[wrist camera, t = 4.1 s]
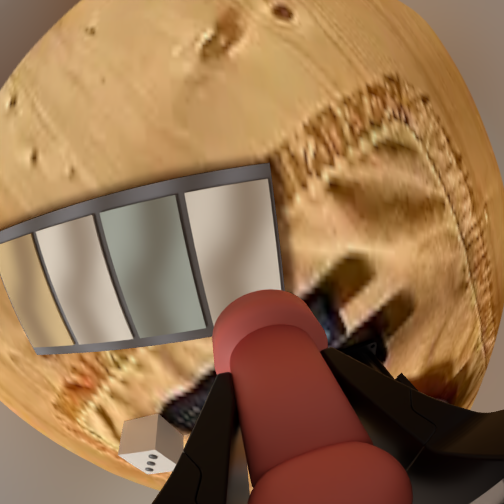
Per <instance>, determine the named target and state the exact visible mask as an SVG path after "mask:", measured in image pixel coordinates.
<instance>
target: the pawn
mask: <svg viewBox="0 0 504 504" xmlns="http://www.w3.org/2000/svg"><path fill="white" fill-rule="evenodd" d="M212 341H213V353H214V364H215V370H216V373H217V375H218V374H219V373H224V372H230V373H231V375H232V381H233V387H234V393H235V399H236V405H237V413H238V418H239V424H240V429H241V434H242V440H243V445H244V450H245V455H246V460H247V465H248V470H249V474H250V479H251V484H252V487H253V490H252V492H251V494H250V497H249V499H248V503H247V504H412V503H413V491H412V485H411V482H410V478H409V476H408V474H407V472H406V470H405V469H404V468H403V466H402V465H401V464H400V462H399V461H397V460H396V459H395V458H394V457H393V456H392V455H391V454H389V453H388V452H386V451H384V450H382V449H380V448H378V447H376V446H374V445H373V442H372V440H371V438H370V437H369V435H368V433H367V432H366V430H365V428H364V426H363V425H362V423H361V421H360V420H359V418H358V416H357V414H356V413H355V411H354V409H353V408H352V406H351V404H350V402H349V401H348V399H347V397H346V396H345V394H344V392H343V391H342V389H341V387H340V385H339V384H338V382H337V380H336V379H335V377H334V375H333V374H332V372H331V370H330V368H329V367H328V365H327V363H326V362H325V360H324V358H323V357H322V355H321V353H320V351H321V350H323V349H326V348H328V342H327V336H326V334H325V331H324V329H323V328H322V326H321V325H320V324H319V322H318V321H317V319H316V318H315V316H314V315H313V313H312V312H311V310H310V309H309V308H308V306H307V305H306V303H305V302H304V301H303V300H301V299H300V298H299V297H297V296H296V295H294V294H292V293H289V292H286V291H282V290H274V289H267V290H259V291H255V292H251V293H248V294H246V295H243V296H241V297H239V298H237V299H236V300H234V301H233V302H231V303H230V304H229V305H228V306H227V307H226V308H225V309H224V310H223V311H222V312H221V314H220V315H219V317H218V318H217V320H216V322H215V325H214V328H213V334H212Z"/></svg>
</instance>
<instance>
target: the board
mask: <svg viewBox="0 0 504 504" xmlns="http://www.w3.org/2000/svg"><path fill="white" fill-rule="evenodd" d="M0 276H1V279H2V281H3V284H4V286H5V289H6V292H7V294H8V297H9V299H10V301H11V304H12V306H13V308H14V310H15V313H16V315H17V317H18V319H19V321H20V323H21V325H22V327H23V329H24V331H25V333H26V335H27V337H28V339H29V341H30V343H31V345H32V347H33V348H34V350H35V352H36V354H37V355H44V354H68V353H84V352H97V351H108V350H118V349H128V348H137V347H145V346H153V345H160V344H167V343H174V342H181V341H187V340H194V339H200V338H205V337H211V336H212V334H213V328H214V325H215V322H216V320H217V318H218V317H219V315H220V314H221V312H222V311H223V310H224V309H225V308H226V307H227V306H228V305H229V304H230V303H231V302H233V301H234V300H236V299H237V298H239V297H241V296H243V295H246V294H248V293H251V292H255V291H259V290H267V289H274V290H282V291H285V289H284V279H283V270H282V260H281V251H280V242H279V234H278V225H277V217H276V209H275V201H274V193H273V185H272V177H271V170H270V163H263V164H256V165H249V166H242V167H235V168H229V169H223V170H217V171H211V172H206V173H200V174H195V175H190V176H185V177H180V178H175V179H170V180H166V181H161V182H157V183H152V184H148V185H144V186H140V187H136V188H132V189H128V190H124V191H120V192H116V193H112V194H109V195H105V196H101V197H98V198H94V199H91V200H87V201H84V202H81V203H78V204H74V205H71V206H68V207H65V208H62V209H59V210H56V211H53V212H50V213H47V214H44V215H41V216H38V217H35V218H33V219H30V220H27V221H25V222H22V223H19V224H17V225H14V226H12V227H9V228H6V229H4V230H2V231H0Z"/></svg>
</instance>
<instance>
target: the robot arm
mask: <svg viewBox="0 0 504 504" xmlns="http://www.w3.org/2000/svg"><path fill="white" fill-rule="evenodd" d="M376 347H377V343H376V342H375V341H374V340H371V341H369V342H366V343H363V344H360V345H357V346H354V347H351V348H348V349H345V350H342V351H338V350H337V349H335V348H333V347H329V348H326V349H323V350H321V351H320V353H321V355H322V357H323V358H324V360H325V362H326V363H327V365H328V367H329V368H330V370H331V372H332V374H333V375H334V377H335V379H336V380H337V382H338V384H339V385H340V387H341V389H342V391H343V392H344V394H345V396H346V397H347V399H348V401H349V402H350V404H351V406H352V408H353V409H354V411H355V413H356V414H357V416H358V418H359V420H360V421H361V423H362V425H363V426H364V428H365V430H366V432H367V433H368V435H369V437H370V438H371V440H372V442H373V445H374V446H376V447H378V448H380V449H382V450H384V451H386V452H388V453H389V454H391V455H392V456H393V457H394V458H395V459H396V460H397V461H399V462H400V464H401V465H402V466H403V468H404V469H405V470H406V472H407V474H408V476H409V478H410V482H411V485H412V491H413V503H412V504H504V410H500V411H496V412H491V413H480V412H474V411H471V410H468V409H464V408H461V407H458V406H455V405H452V404H448V403H445V402H443V401H440V400H437V399H434V398H432V397H430V396H427V395H425V394H423V393H421V392H419V391H418V390H417V389H416V388H415V387H414V386H413V385H412V384H411V383H410V381H409V380H408V379H407V378H406V377H405V376H404V375H403V374H402V373H401V374H400V375H398V376H397V378H396V379H394V378H393V377H392V375H391V374H390V373H389V372H388V370H387V369H386V368H385V367H384V365H383V364H382V363H381V362H380V361H379V359H378V358H377V357H376V356H375V353H376ZM249 497H250V493H249V482H248V470H247V460H246V455H245V450H244V445H243V440H242V434H241V429H240V424H239V418H238V413H237V405H236V399H235V393H234V387H233V381H232V375H231V373H230V372H224V373H219V374H218V375H217V377H216V379H215V381H214V384H213V386H212V388H211V390H210V392H209V395H208V397H207V399H206V401H205V404H204V406H203V408H202V410H201V412H200V415H199V417H198V419H197V421H196V423H195V426H194V428H193V430H192V432H191V434H190V436H189V439H188V441H187V443H186V445H185V447H184V449H183V452H182V453H181V456H180V458H179V460H178V462H177V464H176V466H175V468H174V470H173V472H172V474H171V475H170V477H169V478H168V480H167V482H166V483H165V485H164V486H163V488H162V489H161V491H160V492H159V494H158V495H157V497H156V498H155V500H154V501H153V502H152V504H247V503H248V499H249Z"/></svg>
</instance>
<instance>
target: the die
mask: <svg viewBox="0 0 504 504" xmlns="http://www.w3.org/2000/svg"><path fill="white" fill-rule="evenodd" d="M182 452H183V435H182V434H181V433H180V432H179V431H177V430H176V429H175V428H174V427H173V426H172V425H171V424H169V423H168V422H167V421H166V420H165V419H164V418H163V417H162V416H161V415H160V414H158V413H157V414H153V415H149V416H145V417H141V418H137V419H133V420H128V421H124V424H123V429H122V434H121V440H120V446H119V452H118V455H119V456H120V457H122V458H123V459H125V460H126V461H128V462H129V463H131V464H132V465H134V466H135V467H137V468H138V469H140V470H141V471H143V472H145V473H146V474H155V473H163V472H170V471H173V470H174V468H175V466H176V464H177V462H178V460H179V458H180V456H181V453H182Z"/></svg>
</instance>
